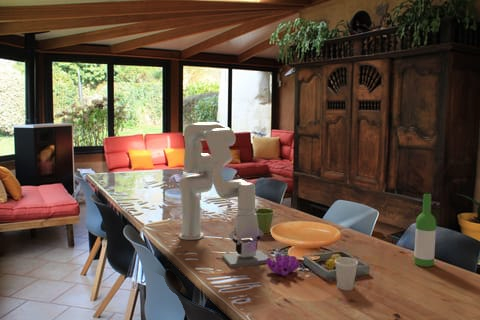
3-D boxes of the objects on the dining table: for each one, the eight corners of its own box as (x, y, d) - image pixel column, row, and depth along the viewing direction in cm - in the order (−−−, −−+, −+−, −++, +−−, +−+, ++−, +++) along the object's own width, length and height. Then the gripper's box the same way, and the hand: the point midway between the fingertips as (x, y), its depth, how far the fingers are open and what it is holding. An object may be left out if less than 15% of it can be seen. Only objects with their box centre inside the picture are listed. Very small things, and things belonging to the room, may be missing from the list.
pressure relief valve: (321, 269, 174) (333, 262, 182) (348, 281, 167) (359, 274, 175) (323, 256, 173) (335, 250, 181) (350, 268, 166) (362, 261, 173)
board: (222, 258, 188) (222, 244, 187) (260, 253, 194) (260, 240, 193) (230, 267, 177) (230, 253, 176) (271, 262, 183) (271, 248, 182)
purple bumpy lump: (267, 284, 168) (256, 262, 171) (292, 274, 178) (282, 253, 181) (284, 274, 160) (273, 251, 164) (309, 264, 171) (298, 242, 174)
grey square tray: (302, 263, 182) (302, 255, 181) (342, 258, 188) (342, 250, 188) (326, 280, 164) (326, 272, 163) (369, 274, 170) (369, 265, 169)
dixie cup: (329, 287, 158) (330, 260, 157) (341, 280, 164) (342, 255, 162) (349, 294, 152) (350, 267, 151) (361, 287, 158) (362, 261, 157)
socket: (237, 252, 187) (237, 239, 186) (250, 251, 189) (250, 238, 188) (241, 257, 181) (241, 243, 180) (256, 255, 183) (256, 242, 182)
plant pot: (250, 234, 223) (250, 213, 222) (254, 227, 235) (254, 207, 233) (272, 235, 220) (272, 214, 219) (276, 229, 232) (276, 208, 230)
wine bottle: (434, 263, 182) (438, 193, 178) (432, 269, 175) (436, 197, 172) (415, 259, 186) (418, 191, 182) (412, 265, 179) (415, 195, 175)
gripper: (261, 207, 189) (261, 247, 191) (224, 211, 183) (224, 251, 186) (268, 211, 182) (268, 252, 184) (229, 215, 176) (230, 257, 179)
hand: (246, 251), depth 185 cm, fingers closed on socket, 6 cm apart
